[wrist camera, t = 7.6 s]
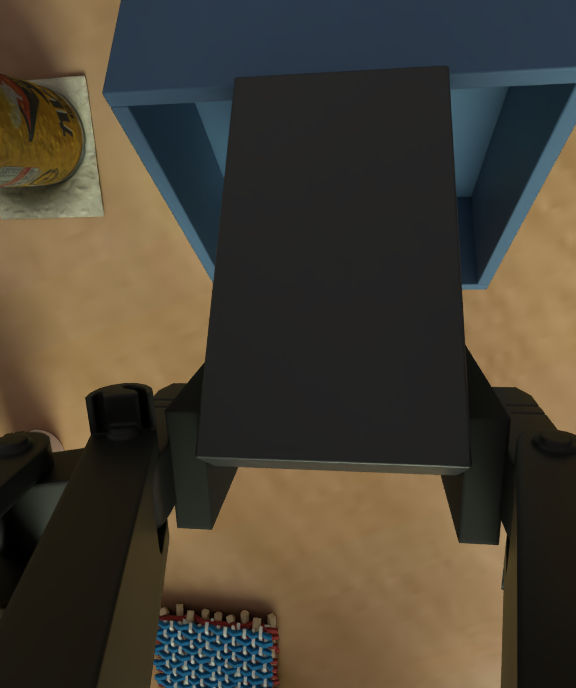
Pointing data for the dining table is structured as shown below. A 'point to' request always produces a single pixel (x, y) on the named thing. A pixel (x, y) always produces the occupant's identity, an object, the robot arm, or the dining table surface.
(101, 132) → the dining table surface
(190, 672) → the woven mat
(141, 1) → the blue open box
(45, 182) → the condiment
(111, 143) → the dining table surface
